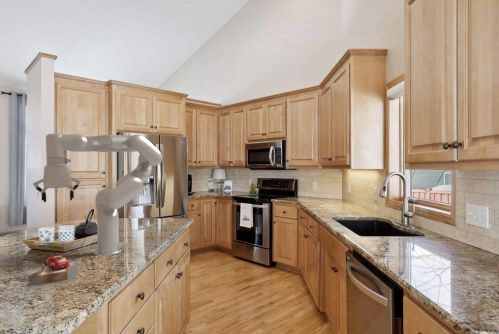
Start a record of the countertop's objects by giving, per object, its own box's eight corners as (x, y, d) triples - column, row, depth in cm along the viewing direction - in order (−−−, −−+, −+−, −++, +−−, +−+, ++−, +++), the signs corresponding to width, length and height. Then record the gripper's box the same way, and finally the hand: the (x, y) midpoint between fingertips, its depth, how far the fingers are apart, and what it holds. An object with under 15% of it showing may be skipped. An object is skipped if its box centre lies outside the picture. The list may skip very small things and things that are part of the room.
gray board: (78, 266, 121) (78, 264, 121) (75, 282, 105) (75, 280, 105) (37, 272, 115) (37, 270, 115) (27, 290, 98) (27, 288, 98)
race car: (43, 264, 112) (42, 254, 112) (59, 261, 117) (58, 251, 117) (53, 272, 104) (53, 261, 104) (70, 268, 108) (70, 257, 108)
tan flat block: (70, 267, 118) (70, 259, 118) (67, 279, 105) (67, 270, 105) (44, 271, 114) (44, 263, 114) (37, 284, 101) (37, 275, 101)
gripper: (79, 161, 133) (81, 198, 133) (33, 162, 124) (35, 201, 125) (79, 161, 127) (81, 200, 127) (31, 162, 118) (32, 203, 118)
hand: (58, 200), depth 126 cm, fingers open, 9 cm apart
